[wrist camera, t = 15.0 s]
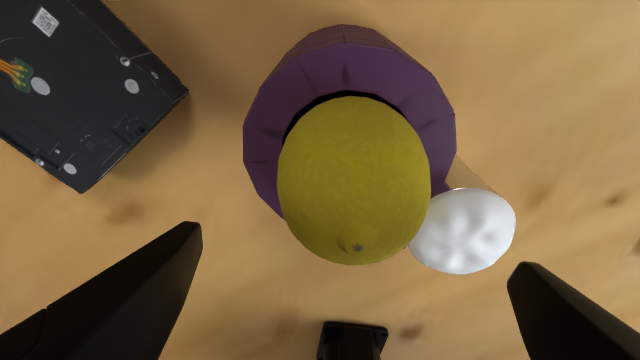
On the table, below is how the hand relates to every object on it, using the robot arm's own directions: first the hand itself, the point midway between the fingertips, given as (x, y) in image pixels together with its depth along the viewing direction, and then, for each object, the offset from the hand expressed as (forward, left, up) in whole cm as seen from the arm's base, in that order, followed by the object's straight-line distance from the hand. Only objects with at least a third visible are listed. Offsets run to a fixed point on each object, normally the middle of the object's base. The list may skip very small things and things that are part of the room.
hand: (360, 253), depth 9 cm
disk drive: (+1, +18, -13) cm, 22 cm away
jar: (0, 0, -12) cm, 12 cm away
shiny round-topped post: (-2, -5, -12) cm, 13 cm away
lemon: (0, 0, -8) cm, 8 cm away
